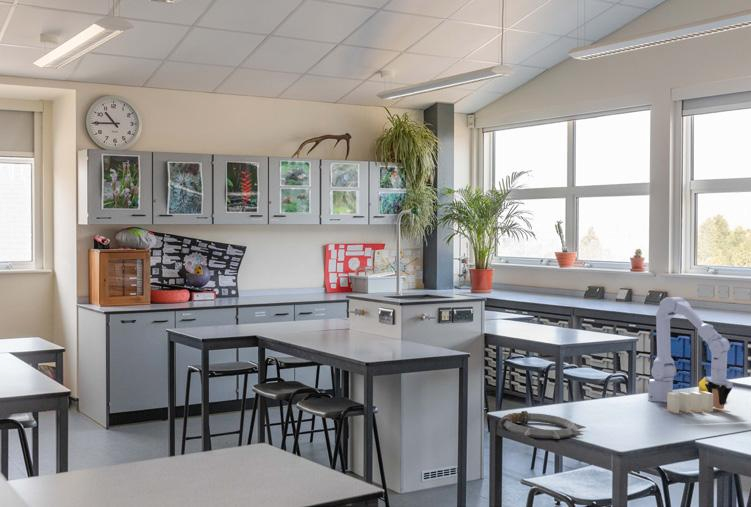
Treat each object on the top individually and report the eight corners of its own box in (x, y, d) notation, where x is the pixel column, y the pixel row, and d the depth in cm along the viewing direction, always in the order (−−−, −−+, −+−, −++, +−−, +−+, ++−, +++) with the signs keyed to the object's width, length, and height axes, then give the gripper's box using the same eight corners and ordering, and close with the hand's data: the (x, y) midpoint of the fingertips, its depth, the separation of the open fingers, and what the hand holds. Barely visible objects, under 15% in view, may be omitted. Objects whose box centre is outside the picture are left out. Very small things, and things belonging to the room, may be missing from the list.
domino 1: (674, 412, 324) (675, 394, 324) (666, 410, 329) (667, 392, 329) (679, 412, 325) (679, 394, 324) (671, 409, 329) (672, 392, 329)
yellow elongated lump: (708, 411, 343) (697, 389, 344) (701, 398, 372) (691, 377, 373) (732, 402, 340) (721, 379, 341) (723, 389, 369) (712, 368, 370)
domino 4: (708, 411, 328) (708, 393, 328) (700, 409, 333) (700, 391, 332) (712, 411, 328) (713, 393, 328) (704, 408, 333) (705, 391, 333)
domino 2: (685, 412, 325) (686, 394, 325) (678, 409, 330) (678, 392, 330) (690, 412, 326) (690, 394, 326) (682, 409, 331) (683, 391, 330)
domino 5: (715, 406, 334) (716, 388, 334) (724, 408, 329) (724, 390, 329) (711, 406, 334) (712, 388, 334) (719, 408, 329) (720, 391, 329)
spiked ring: (481, 432, 287) (562, 451, 269) (481, 419, 287) (563, 437, 269) (525, 417, 314) (602, 432, 296) (526, 405, 314) (603, 420, 296)
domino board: (672, 415, 322) (672, 413, 322) (660, 411, 330) (660, 409, 330) (730, 413, 329) (730, 411, 328) (717, 409, 336) (717, 407, 336)
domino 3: (697, 412, 327) (697, 394, 326) (689, 409, 331) (689, 391, 331) (701, 411, 327) (702, 394, 327) (693, 409, 332) (694, 391, 332)
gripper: (739, 371, 325) (738, 406, 326) (716, 365, 339) (715, 399, 340) (724, 371, 324) (722, 407, 324) (700, 366, 338) (699, 399, 338)
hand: (717, 403), depth 332 cm, fingers closed on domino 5, 5 cm apart
